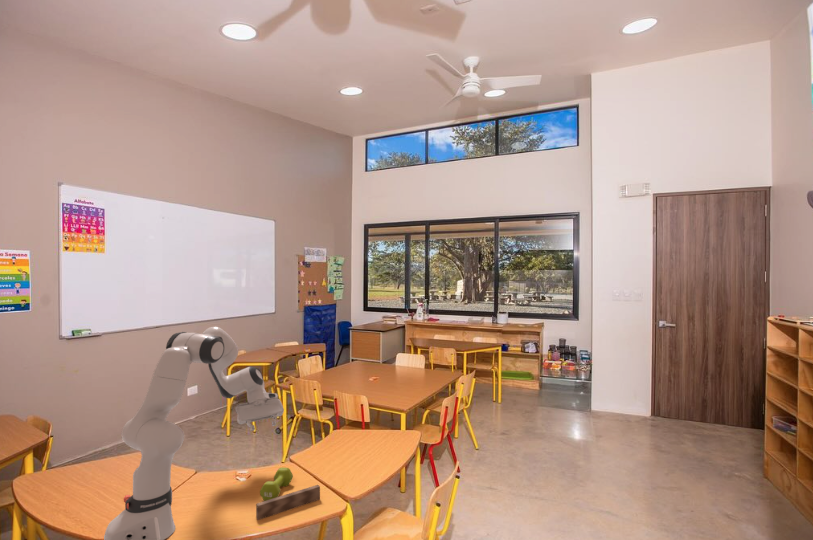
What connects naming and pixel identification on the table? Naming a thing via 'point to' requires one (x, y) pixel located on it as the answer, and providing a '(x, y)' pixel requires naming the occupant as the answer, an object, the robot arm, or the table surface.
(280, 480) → the dumbbell
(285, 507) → the walnut board
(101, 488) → the table surface
